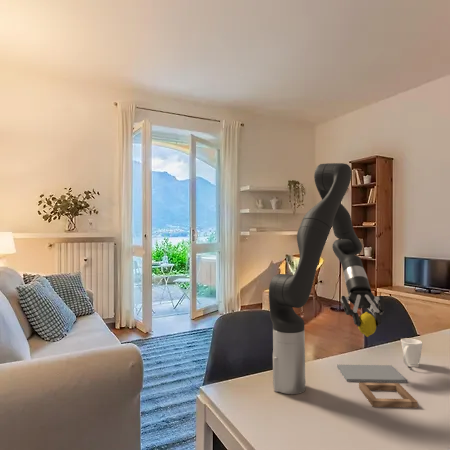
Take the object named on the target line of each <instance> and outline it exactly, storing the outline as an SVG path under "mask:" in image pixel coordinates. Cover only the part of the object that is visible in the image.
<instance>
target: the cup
mask: <svg viewBox="0 0 450 450" xmlns="http://www.w3.org/2000/svg"><path fill="white" fill-rule="evenodd" d="M400 344H401V348H402V349H401V350H402V355H403V356H402V359H403V363H404V365H405V366H406V367H409V368H411V367H412V368H417V367H420V365H419V364H420V361H421V356H422V351H423V350H422V349H423V342H422V340H420V339H417V338H408V337H406V338H400Z"/></svg>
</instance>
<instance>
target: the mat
mask: <svg viewBox="0 0 450 450" xmlns="http://www.w3.org/2000/svg"><path fill="white" fill-rule="evenodd" d="M336 367H337V369H338V370H340V374H341V373H342V374H341V375H342V376H344V377H343V379H345V382H349V383H351V382H353V383H354V382H356V383H408V379H407V378H406V377H405V376H404V375H403V374H402V373H401V372H400V371H398V370H397V368H395V367H394V366H393V365H392V364H388V365H387V364H337V365H336Z"/></svg>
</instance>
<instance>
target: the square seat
mask: <svg viewBox="0 0 450 450" xmlns="http://www.w3.org/2000/svg"><path fill="white" fill-rule="evenodd" d="M358 388H359V390H360V391H361V393H362V394H363V396H364V397H365V398H366V400H367V399H368V400H367V401H368V402H369V404H370V405H371V407H373V408H376V407H377V408H378V407H379V408H411V409H413V408H417V409H418V408H419V407H418V405H419V403H418V401H417V400H416V399H415V397H413V395H411V394H410V392H408V391H407V390H406V389H405V388H404V387H403V385H401V384H400V382H358ZM372 391H387V392H388V391H389V392H391V391H393V392H394V391H395V392H396V393H397V394H398V395H399V396H400V397H401V398H382V397H381V398H376V396H375V395H374V394H373V392H372Z"/></svg>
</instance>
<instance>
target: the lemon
mask: <svg viewBox="0 0 450 450" xmlns="http://www.w3.org/2000/svg"><path fill="white" fill-rule="evenodd" d="M359 319H360V326H357V329H358V330H359V332H360V333H361V334H363V336H365V337H367V338H369V337H370V336H372V335H374V333H375V332H376V330H377V326H376V321H375V318H374V315H373V314H372V313H369V312H368V311H365V312H364V313H361V314H360V315H359Z"/></svg>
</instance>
